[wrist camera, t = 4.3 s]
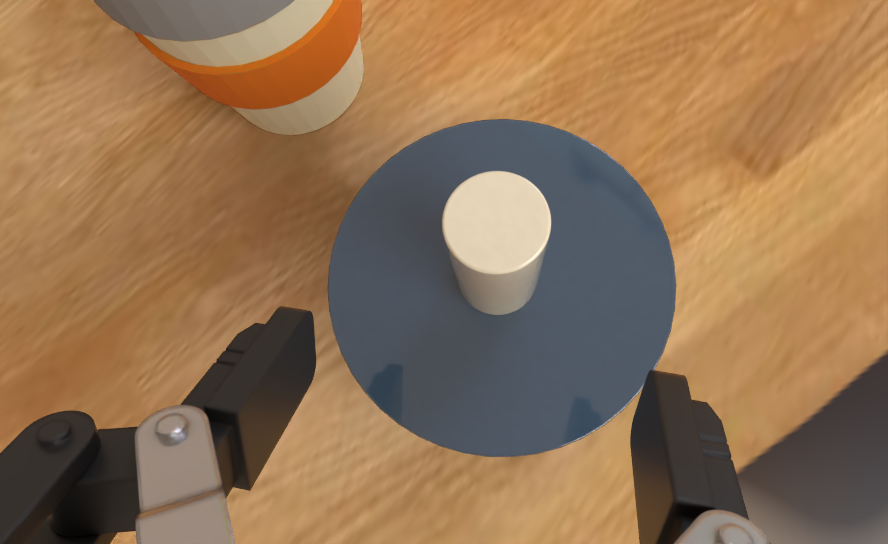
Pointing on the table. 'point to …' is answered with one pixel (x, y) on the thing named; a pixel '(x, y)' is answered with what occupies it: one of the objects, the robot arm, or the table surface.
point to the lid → (501, 288)
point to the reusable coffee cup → (257, 54)
